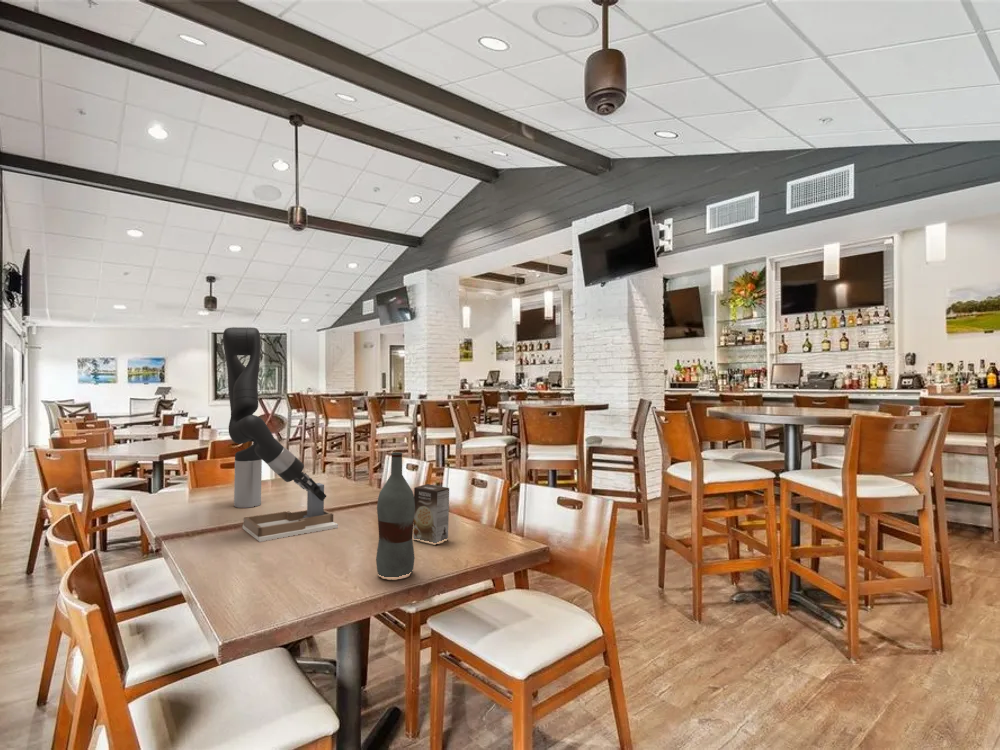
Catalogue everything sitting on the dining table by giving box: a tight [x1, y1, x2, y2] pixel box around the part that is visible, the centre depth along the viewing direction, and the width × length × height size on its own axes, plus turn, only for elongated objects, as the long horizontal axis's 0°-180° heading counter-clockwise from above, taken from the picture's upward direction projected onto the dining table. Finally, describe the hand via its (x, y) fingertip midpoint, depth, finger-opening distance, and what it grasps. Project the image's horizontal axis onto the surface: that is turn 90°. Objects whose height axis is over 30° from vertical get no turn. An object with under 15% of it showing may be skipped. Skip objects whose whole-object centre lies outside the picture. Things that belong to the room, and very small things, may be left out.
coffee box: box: [412, 483, 450, 543], centre depth 159 cm, size 9×6×16 cm
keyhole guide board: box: [242, 509, 339, 543], centre depth 170 cm, size 18×24×4 cm
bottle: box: [375, 451, 416, 577], centre depth 131 cm, size 9×9×30 cm
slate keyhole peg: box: [303, 482, 325, 518], centre depth 175 cm, size 6×6×12 cm
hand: (321, 497), depth 177 cm, fingers closed on slate keyhole peg, 4 cm apart
